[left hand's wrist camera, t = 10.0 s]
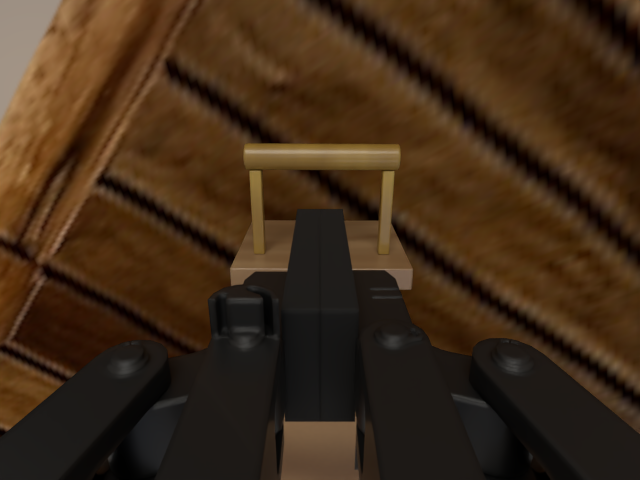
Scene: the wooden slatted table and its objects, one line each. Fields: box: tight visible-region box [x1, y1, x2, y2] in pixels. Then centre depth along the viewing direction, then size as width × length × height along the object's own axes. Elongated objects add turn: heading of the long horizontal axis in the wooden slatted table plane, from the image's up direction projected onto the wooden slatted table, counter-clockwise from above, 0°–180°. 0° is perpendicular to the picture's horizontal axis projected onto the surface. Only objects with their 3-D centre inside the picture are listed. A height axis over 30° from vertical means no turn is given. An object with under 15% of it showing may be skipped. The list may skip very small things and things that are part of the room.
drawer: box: [230, 144, 413, 290], centre depth 27 cm, size 23×9×8 cm, turn 0°
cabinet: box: [281, 412, 359, 480], centre depth 31 cm, size 19×10×10 cm, turn 0°
